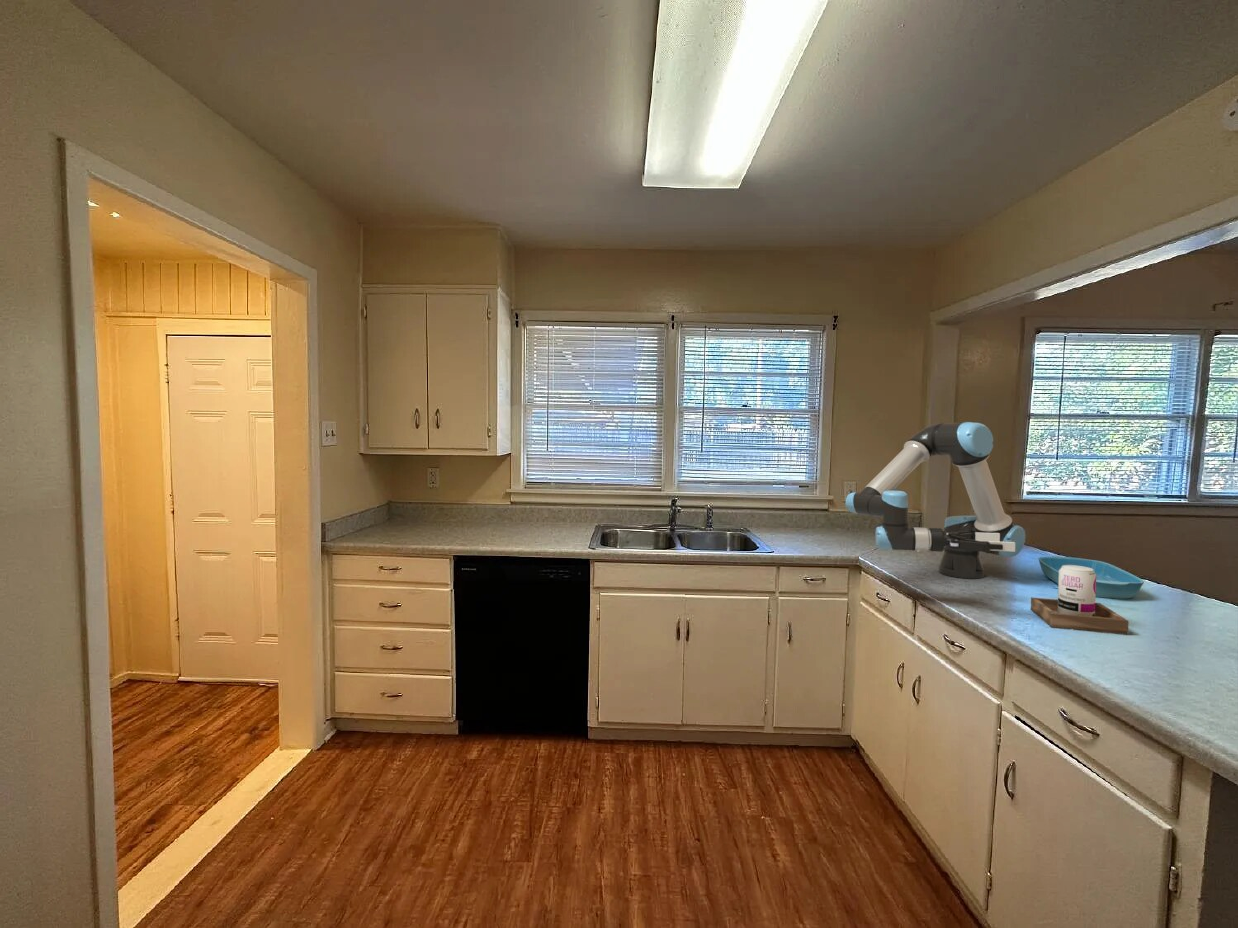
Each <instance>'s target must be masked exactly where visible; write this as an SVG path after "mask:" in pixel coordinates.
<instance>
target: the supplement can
mask: <svg viewBox="0 0 1238 928" xmlns="http://www.w3.org/2000/svg"><path fill="white" fill-rule="evenodd" d="M1057 586H1058V588H1057V600H1058V612H1057V613H1060V614H1072V615H1083V616H1094V617H1095V603H1096V598H1097V597H1096V574H1095V572H1094V570H1093V569H1092V568H1088V567H1084V566H1077V565H1063V566H1062V567H1061V569H1060V570H1059V580H1058V584H1057Z"/></svg>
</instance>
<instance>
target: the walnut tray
mask: <svg viewBox="0 0 1238 928" xmlns="http://www.w3.org/2000/svg"><path fill="white" fill-rule="evenodd" d="M1030 611H1031V612H1033V613H1034V614H1035V615H1036V616H1037V617H1038V618H1039V619H1041V621H1043V622H1044V623H1045V624H1046V625H1047V626H1049V627H1050V628H1051V629H1062V630H1070V629H1073V631H1082V632H1091V633H1092V632H1093V633H1101V634H1102V633H1103V634H1114V635H1124V636H1128V635H1129V620H1128V619H1126V618H1125V617H1123V616H1122V615H1120V614H1119V613H1117V612H1115V611H1114V610H1112V609H1110V608H1109V607H1107V606H1106V605H1104V604H1102V603H1101V602H1095V617H1094V616H1083V615H1072V614H1060V613H1057V612H1058V598H1057V599H1054V598H1041V597H1030Z"/></svg>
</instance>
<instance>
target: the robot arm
mask: <svg viewBox="0 0 1238 928" xmlns="http://www.w3.org/2000/svg"><path fill="white" fill-rule="evenodd" d="M993 443H994V436H993V433H992V432H991V430H990V428H989V427H987V426H986V425H985V424H983V423H980V422H971V421H964V422H946V423H945V422H942V423H941V422H940V423H934V424H931V425H928V426H927V427H925V428H923V429H921V430H919V431H918V432H917V433H915V434H914V435H912V436H911V437H910V438H908V440H907V441H906V442H905V443H904V444H903V449H902V450H901V451H900V452H899V453H897V454H896V456H894V457H893V459H892V460H890V462H888V464H887V465H886V466H884V468H883V469H882V470H881V471H880V472H878V474H876V476H874V478H873V479H871V481H870V482H869V483H867V485H866V486H865V487H864V488H862V489H861V491H859V492H857V491H856V492H851V493H849V494H847V496H846V498H845V502H844V504H845V508H846V509H847V511H849V512H850V513H853V514H857V515H861V516H863V515H864V516H867V517H868V516H869V517H875V518H881V519H882V525H881V526H877V527H876V528H875V534H874V535H875V539H874V540H875V545H876V547H877V549H880V550H891V551H916V552H917V553H921V551H922V552H927V551H930V552H938V553H939V552H943V553H942V556H941V559H940V561H939V563H938V564H939V565H938V572H939V573H940V574H941V575H945V576H949V577H953V578H959V579H969V580H970V579H971V580H972V579H974V580H975V579H983V578H984V577H985V569H984V567H983V564H982V560H981V557H980V552H982V553H986V554H992V555H997V556H1000V557H1009V558H1012V557H1015V556H1017V555H1019V553H1021V551H1022V549H1023V547H1024V544H1025V542H1026V530H1025V529H1024V528H1023V526H1020V525H1018V524H1017V525H1015V523H1014V522H1013V517H1012V516H1010V515H1009V514H1006V513H1005V511H1004V508H1003V506H1002V502H1001V500H1000V496H999V494H998V493H999V492H998V490H997V488H996V485H995V481H994V479H993V476H992V473H991V470H990V468H989V463H988V462H987V460H988V458H989V457H990V453H992V451H993V448H994V444H993ZM934 456H948V457H949V460H950V462H951V464H952V465H953V466H956V467H958V470H959V474H960V475H961V476H960V477H961V479H962V481H963V483H964V486H965V489H966V492H967V495H968V497H969V500H970V502H971V503H970V504H971V505H972V509H973V512H974V514H975V515H951V516H948V517H947V516H946V518H945V520H944V526H943V529H942V528H941V527H930V528H927V527H917V526H915V527H909V499H908V498H909V497H908V494H907V493H906V492H905V491H903V490H895V489H897V487H899V485H900V484H901V483H902V482H903V481H904V480H905V479H906V478H907V477H909V475H910V474H911V473H912V472H913V471H914V470H915V469H916V468H917V467H918V466H919V465H920V464H921V463H924V462H928V460H929V459H930V458H931V457H934Z"/></svg>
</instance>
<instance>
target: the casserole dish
mask: <svg viewBox="0 0 1238 928" xmlns="http://www.w3.org/2000/svg"><path fill="white" fill-rule="evenodd" d="M1038 563H1039V565H1040V568H1041V571H1042V573H1043V574H1044V575H1045V576H1046V577H1047V578H1049V579H1050V580H1051V581H1052V582H1054V583H1055V584H1057V585H1058V580H1059V570H1060V569H1061V567H1062V566H1063V565H1077V566H1084V567H1088V568H1092V569H1093V570H1094V572H1095V574H1096V598H1104V599H1119V600H1128V599H1132V598H1134V597H1136V596H1137V594H1139V591H1140V589H1141V588H1142V586H1143V585H1144V583H1145V581H1144V580H1143V579H1142V578H1140V577H1139V576H1137V575H1134V574H1132V573H1130V572H1128V571H1126V570H1124V569H1123V568H1120V567H1117V566H1116V565H1114V564H1110V563H1109V562H1105V561H1102V560H1094V559H1087V558H1081V557H1071V556H1062V555H1061V556H1057V555H1056V556H1055V555H1054V556H1040V557H1038Z"/></svg>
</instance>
